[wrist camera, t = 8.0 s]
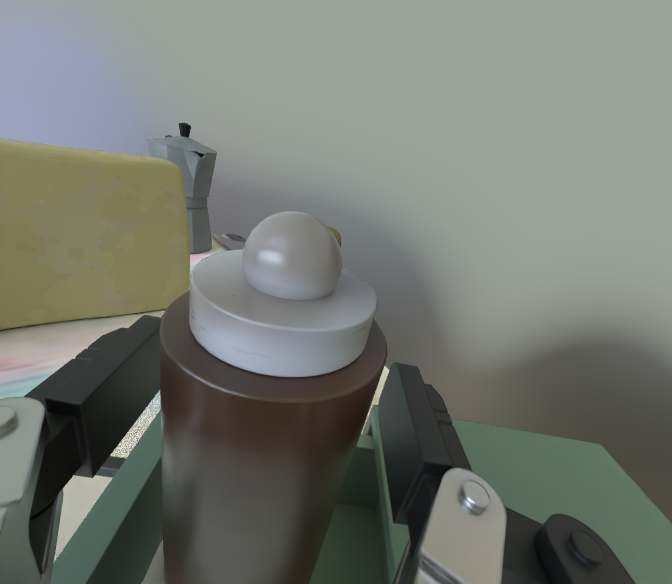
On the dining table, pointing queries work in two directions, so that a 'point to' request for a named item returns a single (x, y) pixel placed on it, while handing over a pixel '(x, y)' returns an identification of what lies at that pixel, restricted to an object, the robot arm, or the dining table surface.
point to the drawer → (147, 523)
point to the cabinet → (552, 492)
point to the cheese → (88, 233)
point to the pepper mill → (263, 404)
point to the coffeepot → (190, 180)
